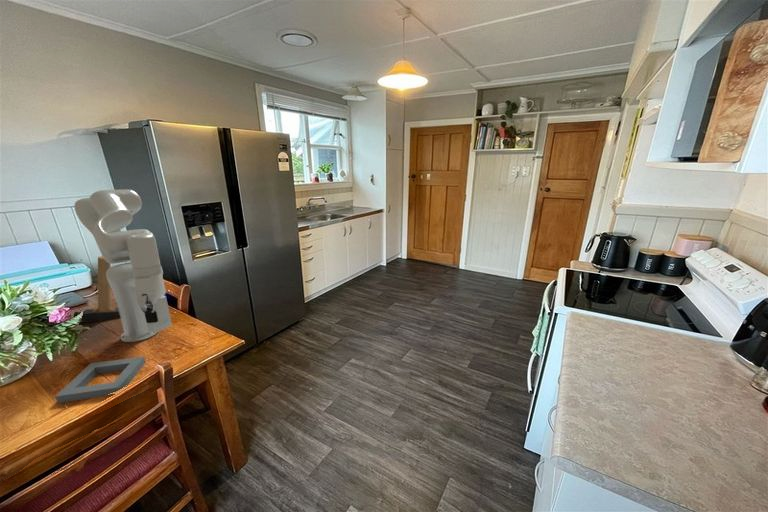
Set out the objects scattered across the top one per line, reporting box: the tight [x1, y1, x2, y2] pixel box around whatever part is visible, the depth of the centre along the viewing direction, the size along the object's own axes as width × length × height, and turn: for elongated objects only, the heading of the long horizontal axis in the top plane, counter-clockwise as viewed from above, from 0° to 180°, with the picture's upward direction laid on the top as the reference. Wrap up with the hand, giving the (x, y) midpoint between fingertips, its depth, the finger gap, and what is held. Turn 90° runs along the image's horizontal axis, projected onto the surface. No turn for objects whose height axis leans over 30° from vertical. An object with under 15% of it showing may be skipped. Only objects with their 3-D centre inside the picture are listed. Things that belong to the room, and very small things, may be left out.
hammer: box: [73, 256, 120, 323], centre depth 134 cm, size 20×5×30 cm, turn 124°
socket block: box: [55, 356, 146, 404], centre depth 97 cm, size 16×16×2 cm
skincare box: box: [144, 295, 173, 334], centre depth 104 cm, size 6×4×12 cm
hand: (157, 316), depth 104 cm, fingers closed on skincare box, 7 cm apart
